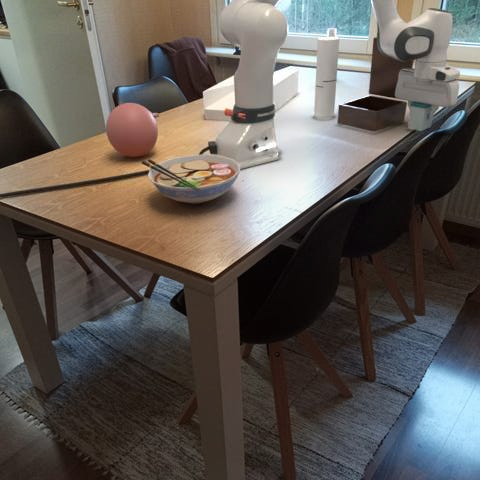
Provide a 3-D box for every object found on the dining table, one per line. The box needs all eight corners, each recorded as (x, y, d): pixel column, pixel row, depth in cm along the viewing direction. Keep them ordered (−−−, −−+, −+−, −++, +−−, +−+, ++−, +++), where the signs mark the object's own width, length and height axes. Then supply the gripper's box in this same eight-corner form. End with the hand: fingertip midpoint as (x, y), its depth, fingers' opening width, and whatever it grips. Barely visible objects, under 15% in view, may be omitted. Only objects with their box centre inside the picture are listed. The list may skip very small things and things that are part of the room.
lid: (414, 41, 151) (423, 38, 153) (373, 37, 161) (381, 35, 163) (406, 100, 162) (414, 97, 164) (368, 93, 172) (376, 90, 174)
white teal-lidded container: (420, 133, 157) (425, 105, 151) (406, 130, 160) (410, 103, 155) (431, 129, 160) (436, 101, 155) (417, 126, 163) (421, 99, 158)
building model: (249, 91, 215) (249, 67, 209) (297, 93, 207) (298, 68, 201) (205, 119, 182) (202, 91, 176) (260, 122, 175) (259, 94, 169)
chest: (374, 134, 158) (377, 112, 154) (337, 125, 168) (338, 104, 164) (404, 122, 167) (407, 101, 163) (366, 115, 176) (369, 95, 172)
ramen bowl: (262, 200, 120) (262, 168, 115) (182, 228, 110) (178, 194, 105) (208, 173, 137) (206, 144, 132) (135, 195, 127) (129, 164, 122)
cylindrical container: (333, 120, 173) (338, 40, 158) (313, 119, 175) (316, 40, 159) (334, 114, 179) (339, 36, 164) (314, 114, 180) (318, 37, 165)
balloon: (181, 148, 156) (175, 97, 147) (135, 167, 144) (126, 113, 134) (147, 141, 164) (139, 92, 154) (101, 159, 151) (90, 106, 142)
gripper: (394, 68, 154) (388, 114, 162) (454, 76, 141) (444, 125, 150) (405, 65, 157) (399, 110, 165) (465, 72, 144) (455, 121, 153)
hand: (421, 117), depth 157 cm, fingers closed on white teal-lidded container, 5 cm apart
